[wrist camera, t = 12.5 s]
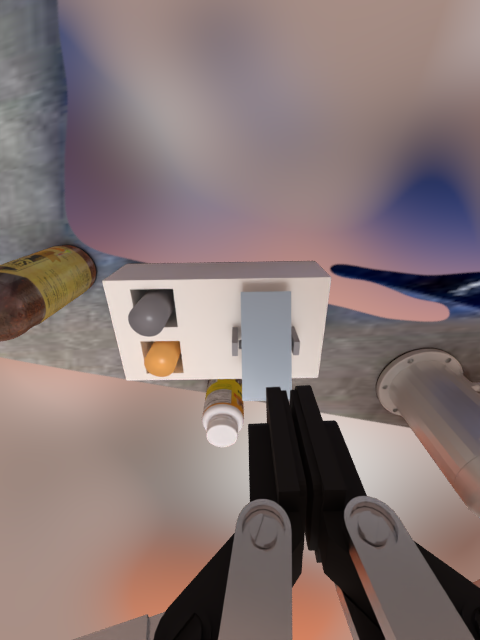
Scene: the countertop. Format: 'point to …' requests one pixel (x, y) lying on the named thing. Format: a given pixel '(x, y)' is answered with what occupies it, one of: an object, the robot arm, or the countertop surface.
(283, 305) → the rocker
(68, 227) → the countertop surface
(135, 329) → the button charcoal
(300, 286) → the panel
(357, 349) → the countertop surface
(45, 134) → the countertop surface
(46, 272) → the sauce bottle
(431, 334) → the countertop surface
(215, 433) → the supplement bottle
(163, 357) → the button orange
